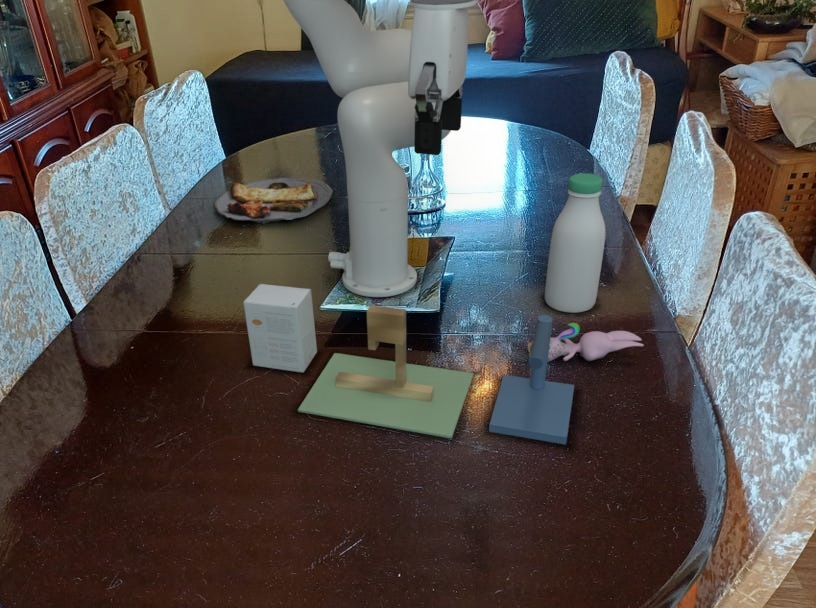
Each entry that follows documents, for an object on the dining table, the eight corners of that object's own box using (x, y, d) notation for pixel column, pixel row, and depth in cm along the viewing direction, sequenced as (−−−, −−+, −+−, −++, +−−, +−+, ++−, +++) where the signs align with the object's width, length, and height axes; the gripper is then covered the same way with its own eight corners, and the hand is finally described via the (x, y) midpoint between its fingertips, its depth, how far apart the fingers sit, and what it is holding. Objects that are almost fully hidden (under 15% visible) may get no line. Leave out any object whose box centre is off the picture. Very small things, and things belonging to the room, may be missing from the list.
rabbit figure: (531, 377, 99) (647, 365, 96) (527, 340, 96) (648, 327, 93) (527, 352, 105) (637, 340, 101) (523, 317, 101) (637, 303, 98)
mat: (298, 411, 93) (297, 409, 93) (334, 355, 104) (334, 352, 104) (451, 438, 87) (451, 436, 87) (473, 375, 98) (473, 373, 98)
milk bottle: (597, 315, 110) (618, 187, 99) (544, 312, 111) (559, 186, 100) (593, 291, 116) (611, 169, 105) (543, 289, 118) (556, 168, 107)
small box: (318, 353, 105) (312, 288, 99) (303, 374, 101) (297, 307, 95) (267, 346, 107) (259, 282, 102) (251, 366, 103) (242, 300, 97)
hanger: (335, 386, 97) (330, 306, 90) (339, 380, 98) (334, 300, 92) (431, 402, 93) (432, 319, 86) (434, 395, 94) (436, 312, 88)
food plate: (202, 228, 147) (199, 212, 145) (230, 188, 166) (228, 173, 164) (324, 228, 144) (323, 211, 142) (338, 187, 163) (337, 172, 161)
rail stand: (488, 431, 88) (494, 353, 82) (503, 381, 97) (509, 308, 90) (565, 445, 85) (578, 365, 79) (573, 392, 94) (584, 316, 88)
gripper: (432, -21, 90) (428, 119, 99) (387, 2, 77) (388, 161, 86) (492, -21, 87) (482, 123, 97) (457, 3, 74) (450, 166, 84)
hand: (438, 141), depth 92 cm, fingers open, 9 cm apart
